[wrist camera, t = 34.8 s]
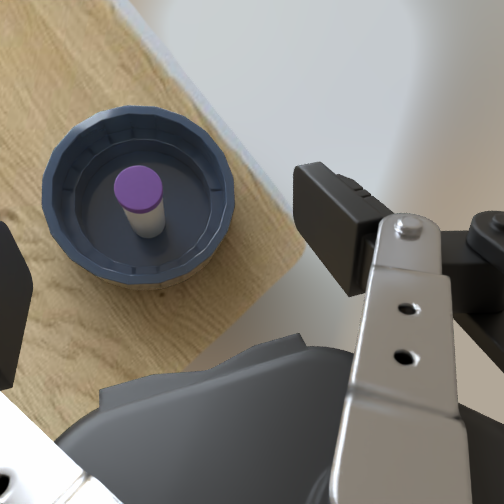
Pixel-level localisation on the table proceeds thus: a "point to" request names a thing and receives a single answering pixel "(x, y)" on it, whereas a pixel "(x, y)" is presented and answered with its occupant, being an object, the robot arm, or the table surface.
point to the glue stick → (141, 200)
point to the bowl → (112, 213)
